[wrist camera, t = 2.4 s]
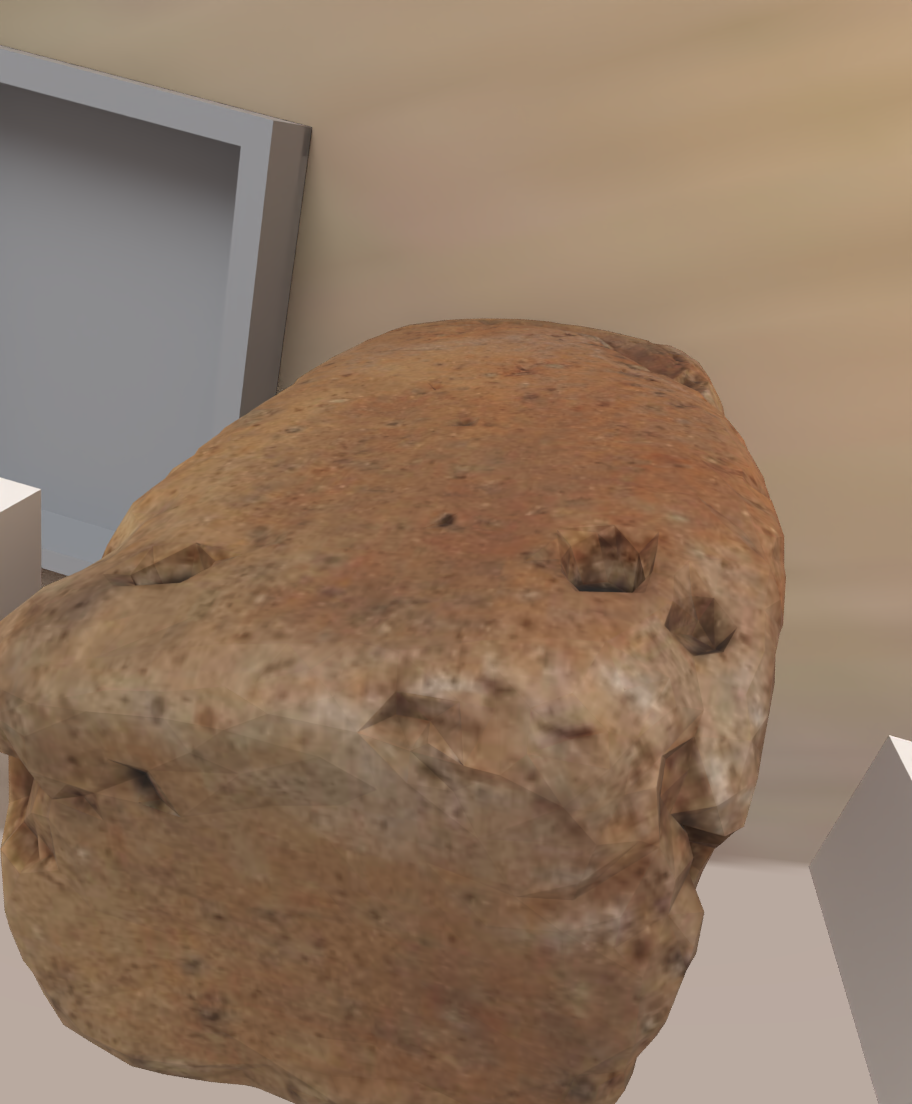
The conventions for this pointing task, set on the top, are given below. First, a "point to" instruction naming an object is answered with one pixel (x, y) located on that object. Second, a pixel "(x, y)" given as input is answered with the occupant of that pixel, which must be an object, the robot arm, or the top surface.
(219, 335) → the tray
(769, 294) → the top surface
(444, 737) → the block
